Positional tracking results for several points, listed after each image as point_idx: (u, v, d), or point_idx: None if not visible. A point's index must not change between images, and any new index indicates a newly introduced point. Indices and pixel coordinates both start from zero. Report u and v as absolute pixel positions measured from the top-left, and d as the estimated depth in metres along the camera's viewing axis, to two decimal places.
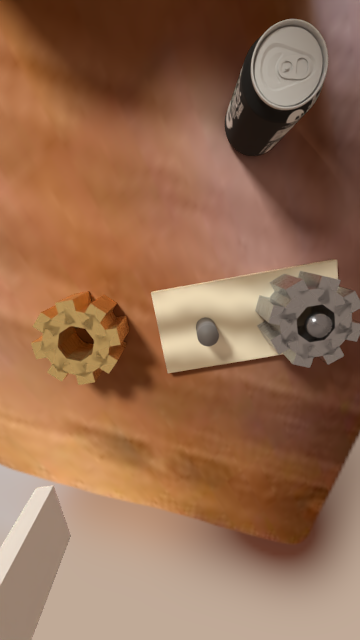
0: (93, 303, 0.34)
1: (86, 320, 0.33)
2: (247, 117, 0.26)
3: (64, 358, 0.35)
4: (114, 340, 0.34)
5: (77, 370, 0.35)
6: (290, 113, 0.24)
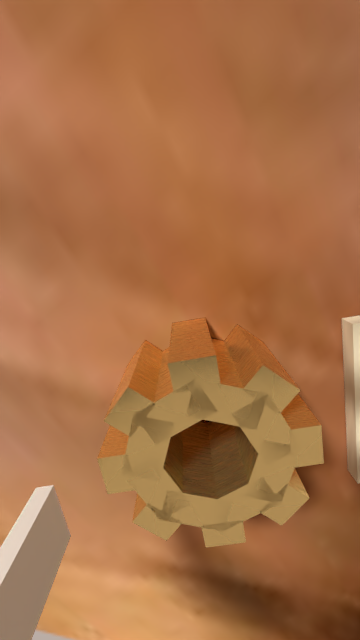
0: (262, 361, 0.13)
1: (245, 406, 0.13)
2: None
3: (177, 492, 0.14)
4: (310, 453, 0.13)
5: (206, 518, 0.14)
6: None
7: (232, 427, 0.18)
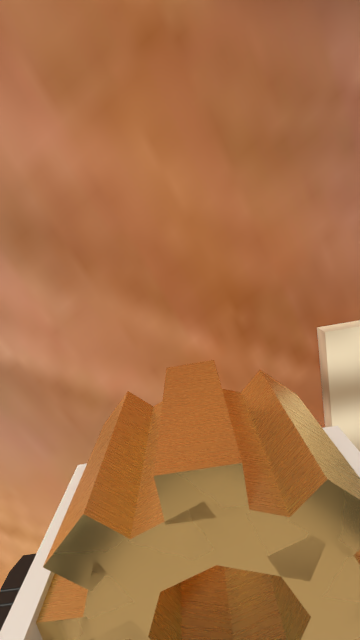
0: (321, 464, 0.07)
1: (292, 546, 0.07)
2: None
3: None
4: None
5: None
6: None
7: None
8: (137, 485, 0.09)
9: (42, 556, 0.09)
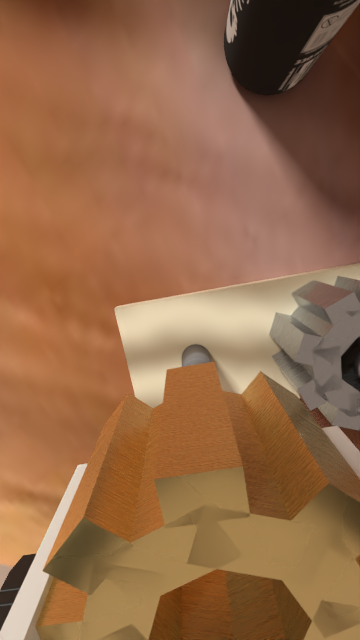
0: (322, 467, 0.07)
1: (293, 549, 0.07)
2: None
3: None
4: None
5: None
6: None
7: None
8: (137, 488, 0.09)
9: (42, 556, 0.09)
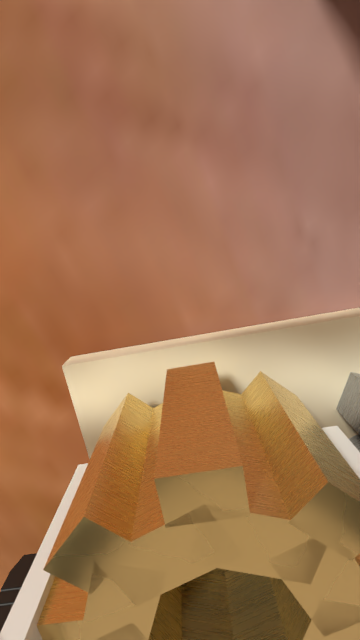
0: (322, 467, 0.07)
1: (293, 549, 0.07)
2: None
3: None
4: None
5: None
6: None
7: None
8: (137, 487, 0.09)
9: (43, 555, 0.09)
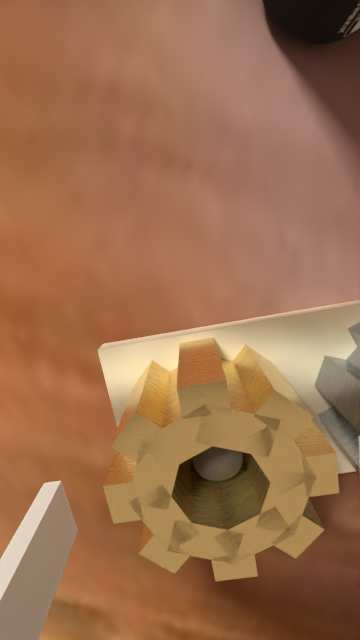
0: (274, 386, 0.12)
1: (257, 433, 0.12)
2: None
3: (186, 522, 0.13)
4: (325, 482, 0.13)
5: (216, 550, 0.14)
6: None
7: None
8: (163, 407, 0.14)
9: None
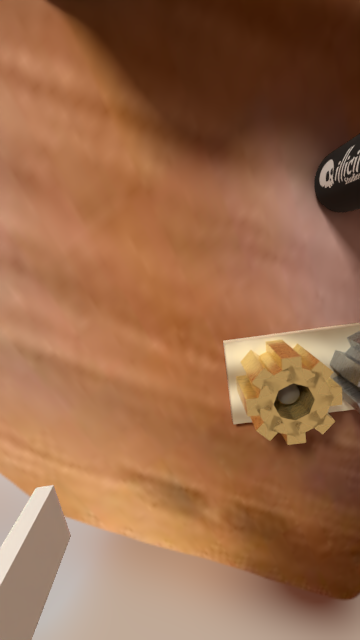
0: None
1: (311, 378, 0.31)
2: None
3: (278, 416, 0.32)
4: (336, 400, 0.31)
5: (289, 429, 0.32)
6: None
7: None
8: (269, 368, 0.32)
9: None
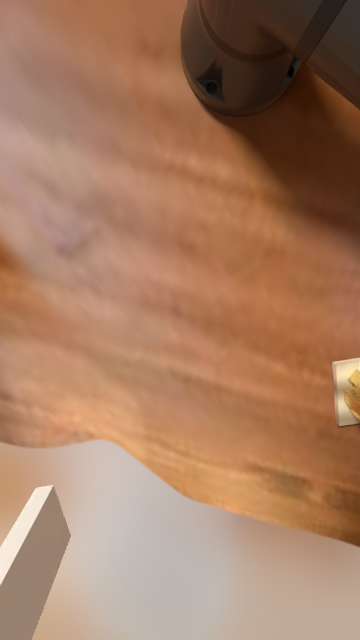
0: None
1: None
2: None
3: None
4: None
5: None
6: None
7: None
8: None
9: None
